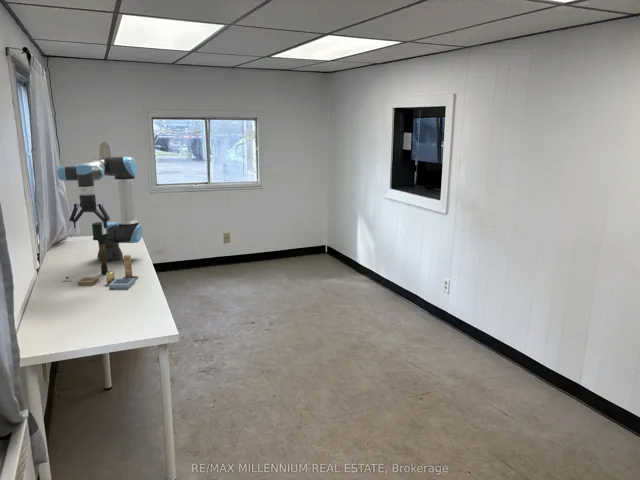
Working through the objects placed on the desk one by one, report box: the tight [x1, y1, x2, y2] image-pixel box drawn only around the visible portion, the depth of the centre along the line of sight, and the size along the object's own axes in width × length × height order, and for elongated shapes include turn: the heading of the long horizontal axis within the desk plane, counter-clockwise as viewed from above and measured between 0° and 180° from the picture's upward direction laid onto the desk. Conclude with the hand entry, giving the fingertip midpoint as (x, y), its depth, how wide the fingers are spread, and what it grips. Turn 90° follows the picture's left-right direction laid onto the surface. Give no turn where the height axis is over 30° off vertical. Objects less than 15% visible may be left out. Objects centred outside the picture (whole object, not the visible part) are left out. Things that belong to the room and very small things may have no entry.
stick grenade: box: [91, 221, 109, 276], centre depth 271 cm, size 8×9×30 cm
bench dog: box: [105, 270, 116, 285], centre depth 259 cm, size 4×4×6 cm
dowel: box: [123, 254, 134, 279], centre depth 263 cm, size 4×4×14 cm
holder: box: [121, 275, 139, 281], centre depth 265 cm, size 7×7×1 cm
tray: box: [108, 278, 136, 290], centre depth 255 cm, size 10×10×2 cm
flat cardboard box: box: [77, 276, 101, 287], centre depth 259 cm, size 8×8×2 cm
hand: (91, 234), depth 253 cm, fingers open, 13 cm apart
